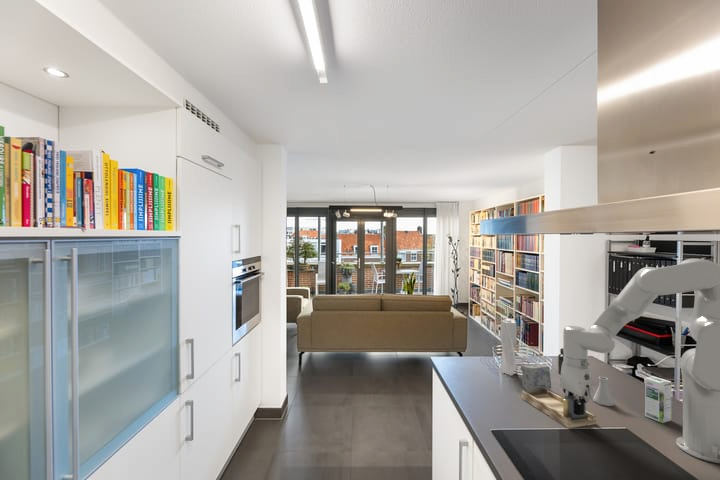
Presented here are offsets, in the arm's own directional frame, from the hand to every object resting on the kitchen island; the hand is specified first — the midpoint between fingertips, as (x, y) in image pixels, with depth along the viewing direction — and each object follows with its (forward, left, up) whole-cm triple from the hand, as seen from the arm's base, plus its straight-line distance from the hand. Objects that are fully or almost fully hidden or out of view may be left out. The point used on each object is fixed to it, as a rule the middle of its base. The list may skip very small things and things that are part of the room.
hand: (575, 411), depth 126 cm
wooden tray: (+9, 0, -4) cm, 10 cm away
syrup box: (-5, -32, -4) cm, 33 cm away
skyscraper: (+47, -7, -4) cm, 48 cm away
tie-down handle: (0, 0, -2) cm, 2 cm away
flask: (+10, -24, -4) cm, 26 cm away
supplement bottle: (+39, -34, -4) cm, 52 cm away
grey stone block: (+28, -7, -4) cm, 29 cm away
